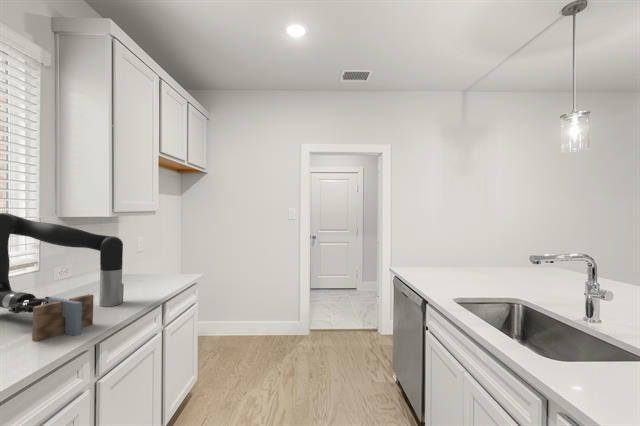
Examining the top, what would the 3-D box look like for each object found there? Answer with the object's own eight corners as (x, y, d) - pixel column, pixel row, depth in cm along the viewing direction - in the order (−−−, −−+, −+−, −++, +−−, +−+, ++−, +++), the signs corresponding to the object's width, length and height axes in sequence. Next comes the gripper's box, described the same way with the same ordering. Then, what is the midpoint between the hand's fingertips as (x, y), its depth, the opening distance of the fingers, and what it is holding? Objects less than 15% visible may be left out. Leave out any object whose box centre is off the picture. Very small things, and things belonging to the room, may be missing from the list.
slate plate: (53, 327, 131) (54, 297, 131) (81, 334, 126) (81, 302, 126) (47, 329, 129) (48, 298, 129) (75, 336, 124) (76, 303, 124)
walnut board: (88, 323, 137) (89, 294, 137) (92, 324, 136) (93, 294, 136) (32, 340, 119) (33, 306, 118) (36, 341, 118) (37, 307, 118)
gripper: (-2, 296, 131) (24, 301, 125) (39, 288, 144) (64, 293, 138) (-3, 315, 131) (23, 321, 125) (38, 306, 144) (64, 311, 138)
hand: (45, 306), depth 132 cm, fingers open, 8 cm apart
